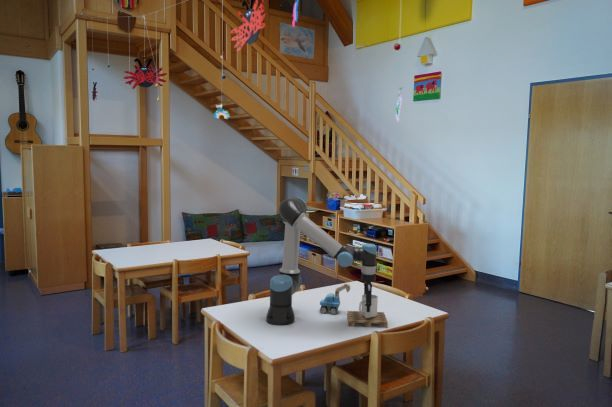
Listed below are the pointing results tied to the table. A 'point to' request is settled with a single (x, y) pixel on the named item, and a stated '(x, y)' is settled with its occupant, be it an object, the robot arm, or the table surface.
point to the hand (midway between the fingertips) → (366, 314)
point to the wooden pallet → (366, 319)
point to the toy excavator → (333, 300)
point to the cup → (373, 305)
